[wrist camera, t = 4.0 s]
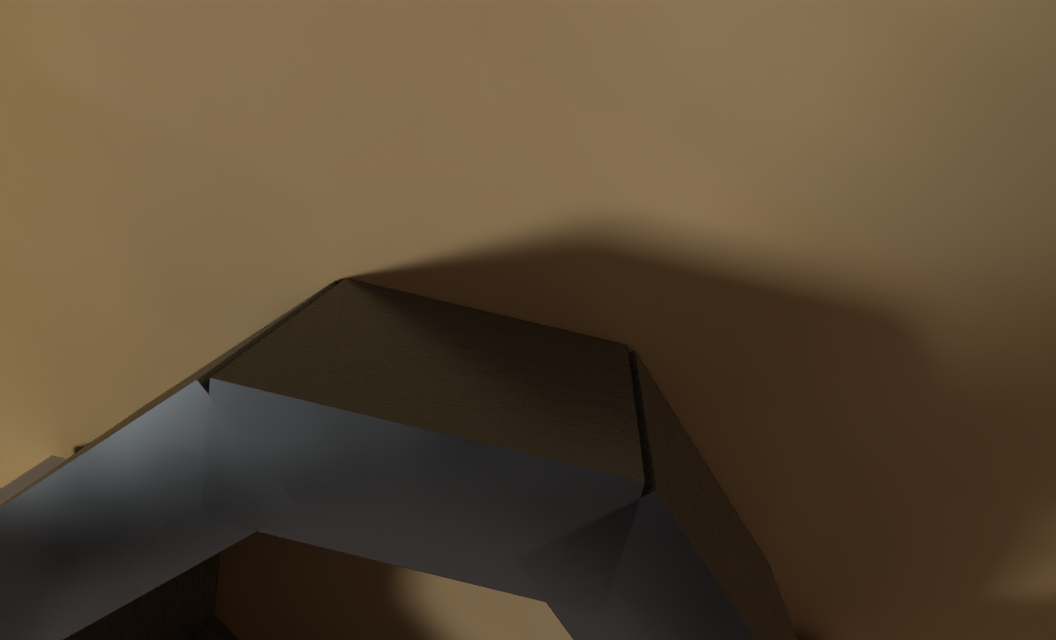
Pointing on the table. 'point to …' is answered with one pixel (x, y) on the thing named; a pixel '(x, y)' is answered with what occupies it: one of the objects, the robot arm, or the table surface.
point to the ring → (394, 481)
